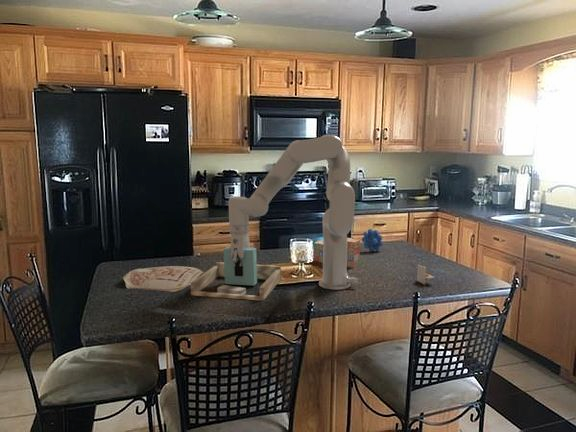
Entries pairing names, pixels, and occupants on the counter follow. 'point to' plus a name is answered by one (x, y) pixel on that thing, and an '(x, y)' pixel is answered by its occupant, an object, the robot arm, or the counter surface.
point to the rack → (263, 272)
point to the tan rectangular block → (352, 252)
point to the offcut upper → (231, 290)
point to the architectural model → (422, 274)
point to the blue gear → (372, 240)
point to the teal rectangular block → (248, 268)
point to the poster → (162, 278)
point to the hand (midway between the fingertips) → (240, 273)
